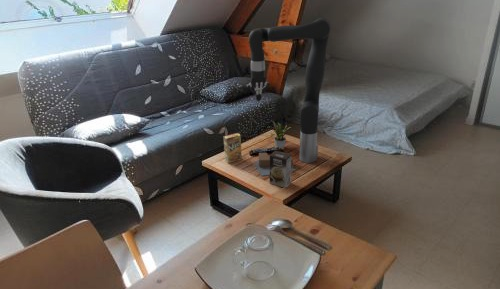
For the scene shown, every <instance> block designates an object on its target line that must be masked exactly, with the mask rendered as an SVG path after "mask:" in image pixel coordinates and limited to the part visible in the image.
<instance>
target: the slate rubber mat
mask: <svg viewBox="0 0 500 289" xmlns="http://www.w3.org/2000/svg"><path fill="white" fill-rule="evenodd" d="M253 164H254V166H255V167H256V169H257V171H258V173H259V174H260V176H261V177H266V176H270V167H259V160H255V161H253ZM291 172H296V169H295V167H294V165H292V167H291Z"/></svg>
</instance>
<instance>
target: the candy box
mask: <svg viewBox="0 0 500 289" xmlns="http://www.w3.org/2000/svg"><path fill="white" fill-rule="evenodd" d="M223 151H224V159H225V160H224V161H226V162H227V163H228V164H230V163H233V162H237V161H241V160H243V158H242V157H243V155H242V138H241V134H240V133H239V132H236V133H230V134H227V135H223Z"/></svg>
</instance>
